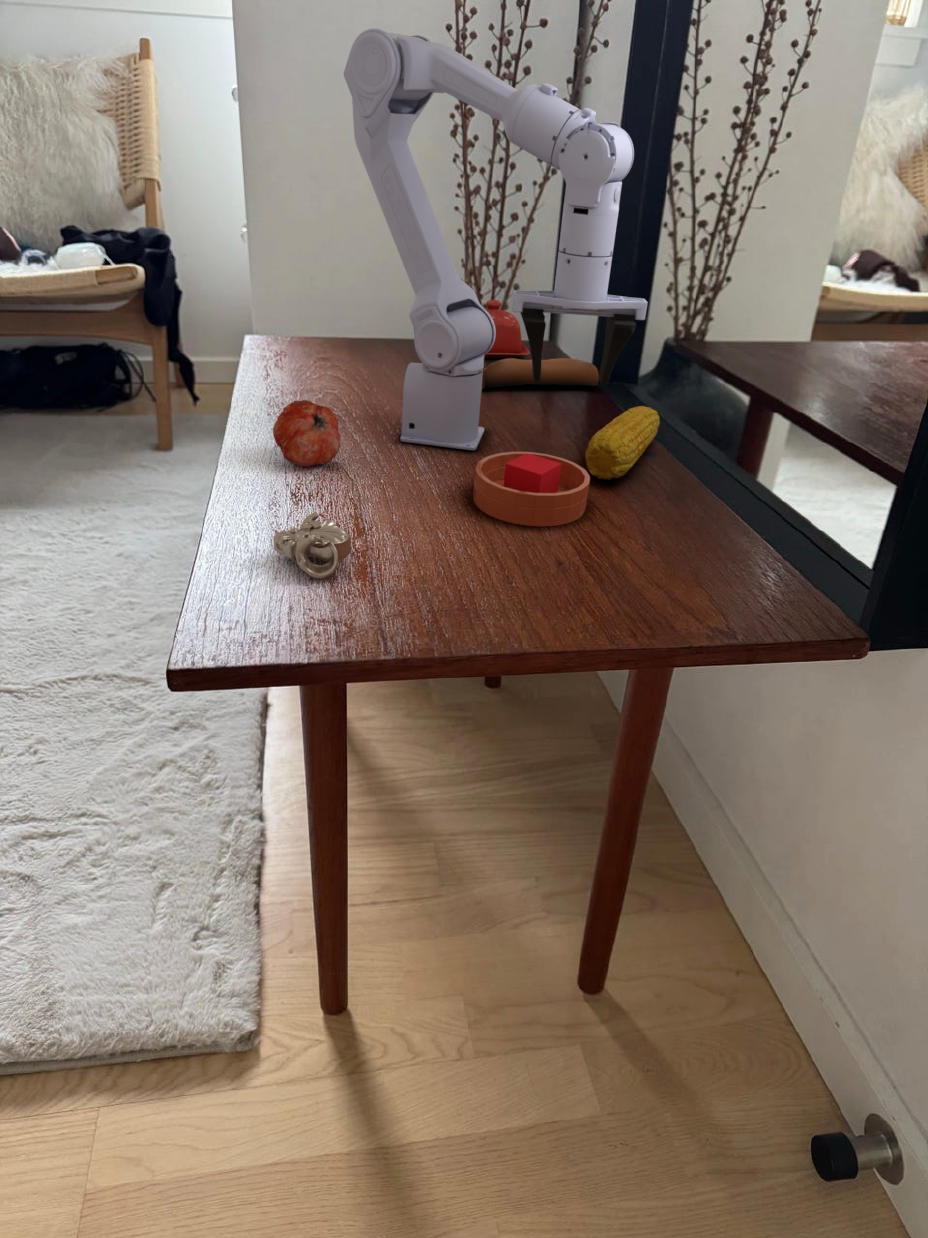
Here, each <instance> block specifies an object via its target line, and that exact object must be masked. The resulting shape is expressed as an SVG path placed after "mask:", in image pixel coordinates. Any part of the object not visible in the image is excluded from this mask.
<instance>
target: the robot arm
mask: <svg viewBox="0 0 928 1238" xmlns="http://www.w3.org/2000/svg"><path fill="white" fill-rule="evenodd" d="M343 77H344V80H345V82H346V85H347V88H348V90H349V93H350V95H351V101H352V103H351V105H352V119H353V120H352V121H353V136H354V141H355V145H356V149H357V151H358V153H359V156H360V159H361V160H362V163H363V167H364V168H365V170H366V174H367V176H368V178H369V181H370V183H371V187H372V188H373V191H374V193H375V196H376V198H377V201H378V204H379V206H380V209H381V211H382V214H383V216H384V219H385V221H386V224H387V227H388V229H389V232H390V234H391V237H392V239H393V242H394V244H395V246H396V249H397V252H398V255H399V257H400V259H401V261H402V265H403V267H404V269H405V272H406V274H407V277H408V280H409V282H410V284H411V288H412V289H413V292H414V300H413V302H412V305H411V309H410V311H409V315H408V316H409V320H410V321H411V324H412V327H413V334H414V335H413V345H414V349H415V352H416V353H415V354H416V355H417V357H418V359H419V360H420V361H421V362H409V363H408V365H407V367H406V371H405V374H404V381H403V388H402V389H403V391H402V410H401V411H402V412H401V413H402V414H401V436H400V438H399V439H400V440H399V441H401V442H403V443H409V444H410V443H411V444H419V445H426V446H434V447H442V448H449V449H456V450H457V449H458V450H464V451H472V452H473V451H476V450H477V449H478V446H479V444H480V442H481V440H482V437H483V435H484V433H485V427H484V426H479V425H480V413H481V412H480V411H481V401H482V390H483V389H482V378H483V369H484V368H485V367H484V365H485V358H484V355H485V354H486V353H488V352H489V351H490V349H491V348H492V346H493V344H494V342H495V337H496V329H495V324H494V321H493V319H492V317H491V315H490V314H489V313H488V312H487V311H486V309H485V307H483V305H482V304H481V303H480V300H479V299H478V296H477V294H476V292H475V290H474V289H473V288H472V287H471V286H469V285H468V284H467V283H466V282H465V281H464V280H462V279H461V278H460V277H459V274H458V271H457V270H456V266H455V264H454V262H453V259H452V256H451V254H450V251H449V248H448V245H447V243H446V241H445V238H444V235H443V233H442V230H441V228H440V224H439V222H438V219H437V217H436V215H435V212H434V209H433V207H432V204H431V201H430V199H429V196H428V193H427V191H426V188H425V186H424V183H423V181H422V180H423V179H422V177H421V175H420V173H419V170H418V166H417V164H416V162H415V159H414V157H413V154H412V152H411V149H410V145H409V143H408V139H409V136H410V133H411V131H412V128H413V126H414V124H415V122H416V121H417V119H418V118H419V116H420V115H421V113H422V112H423V111H424V109H425V108H426V106H427V105H428V104H429V102H430V100H431V99H432V98H433V96H434V95H435V94H447V95H449V96H451V97H453V98H455V99H457V100H459V101H461V102H463V103H465V104H467V105H469V106H470V107H472V108H474V109H476V110H478V111H480V112H482V113H484V114H486V115H488V116H490V117H492V118H494V119H495V120H498V121H500V122H502V125H503V128H504V132H505V136H506V138H507V140H508V142H510V143H511V144H512V145H514V146H516V147H518V148H519V149H521V150H523V151H525V152H527V153H528V154H530V155H532V156H533V157H534V158H536V159H539V160H540V161H542V162H544V163H545V164H547V165H549V166H551V167H552V168H553V169H556V170H558V171H559V172H560V174H561V175H562V177H563V179H564V182H565V191H564V192H565V193H564V202H563V208H562V218H561V226H560V236H559V244H558V252H557V262H556V272H555V278H554V279H555V281H554V288H553V290H516V289H514V290H513V291H512V297H511V298H512V300H511V312H512V313H520V316H521V319H522V322H523V325H524V328H525V332H526V336H527V340H528V344H529V349H530V350H529V351H530V355H531V356H530V357H531V360H532V377H533V380H534V381H540V377H541V360H542V355H543V346H544V340H545V339H544V338H545V332H546V327H547V324H546V320H545V319H546V315H545V314H561V315H576V316H594V317H606V320H605V335H604V343H603V344H604V345H603V351H602V355H601V361H600V367H599V371H598V373H599V383H600V385H602V386H607V385H608V384H609V380H610V378H611V374H612V373H613V369H614V367H615V364H616V362H617V360H618V358H619V356H620V355H621V352H623V351H622V350H623V349H624V347H625V345H626V344H627V343H628V342H629V340H630V338H631V337H632V336H633V334H634V332H635V330H636V327H637V323H636V321H645V320H646V315H647V309H648V303H649V302H648V301H647V300H646V299H645V298H643V297H642V298H641V297H630V296H622V295H613V294H608V289H609V283H610V275H611V268H612V261H613V254H614V247H615V242H616V241H615V240H616V233H617V225H618V218H619V211H620V202H621V193H622V186H623V180H624V179H625V178H626V177H627V175H628V174H629V173H630V171H631V170H632V169H631V168H632V167H633V164H634V159H635V148H634V143H633V140H632V138H631V136H630V134H629V133H628V132H627V131H626V130H625V129H623V128H622V127H621V126H620V125H619V123H618V122H615V121H605V122H601V123H597V120H596V117H597V112H596V111H595V110H593V109H591V108H590V107H585V108H584V109H580V108H579V107H577V106H575V105H573V104H571V103H569V102H568V101H566V100H564V99H562V98H561V97H559V96H558V95H557V94H558V92H559V88H557V87H556V86H554V85H552V84H550V83H546V82H545V83H544V82H543V83H542V84H541V86H540V85H538V84H534V83H533V84H528V85H526V86H524V87H523V88H521V89H516V88H515V87H513V86H512V85H510V84H508V83H507V82H506V81H504V80H502V79H501V78H499V77H498V76H496V75H494V74H493V73H491V72H490V71H488V70H487V69H485V68H483V67H482V66H480V65H479V64H477V63H475V62H474V61H472V60H471V59H469V58H467V57H466V56H464V55H463V54H461V53H460V52H458V51H456V50H455V49H453V48H450V47H449V46H448V45H445V44H442V43H439V42H434V41H431V40H430V39H428V38H427V37H425V36H422V35H406V34H400V33H394V32H387V31H385V30H382V29H379V28H368V29H366V30H363V31H362V32H361V33H360V34H358V36H356V38H355V39H354V41H353V43H352V46H351V48H350V51H349V54H348V57H347V60H346V64H345V67H344V70H343ZM544 313H545V314H544ZM635 320H636V321H635Z"/></svg>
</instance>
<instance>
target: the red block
mask: <svg viewBox="0 0 928 1238" xmlns="http://www.w3.org/2000/svg"><path fill="white" fill-rule="evenodd" d="M560 471H561V463H558V462H555V461H551V460H548V459H545V458H541V457H538V456H535V455H531V454H528V453H526V454H524V455H522V456H520V457H518V458H516V459H514V460H512V461H510V462H508V463H506V465H505V475H504V485H503V487H507V488H511V489H514V490H518V491H524V492H532V493H558V486H559V479H560Z"/></svg>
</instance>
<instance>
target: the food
mask: <svg viewBox="0 0 928 1238" xmlns="http://www.w3.org/2000/svg"><path fill="white" fill-rule="evenodd" d="M660 420H661V418H660V415H659V413H658V411H657V410H655V409H653V408H652V407H648V406H645V405H639V406H635V407H631V408H628V409H627V410H626V411H624V412H622V413H621V414H619V415H618V416H616V417H614V418H613V419H612V420H611V421H610V422H609V423H607V424H605V426H604V427H602V428H601V429H600V430H598V431H596V433H595V434H594V435H592V437H591V438H590V440H589V442H588V446H587V448H586V449H585V456H584V457H585V463H586V468H587V470H588V471H589V473H590V475H592V476H593V477H596V478H597V479H600V480H608V481H611V479H619V478H621V477H623V476H624V475H626V473H628V471H629V470H630V469H632V468H633V466H634V465H635V464H636V463H637V461H638V460H639V458H640V457H641V456H642V455H643V454H644V452H645V451H646V449H647V448H648V446H649V445H650V444H651V443H652V442H653V440H654V439H655V437H656V436H657V433H658V431H659V427H660V423H661V421H660Z"/></svg>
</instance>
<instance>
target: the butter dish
mask: <svg viewBox="0 0 928 1238" xmlns="http://www.w3.org/2000/svg"><path fill="white" fill-rule="evenodd" d="M485 305H486V309H485V310H486V311H487V312H488V313H489V314H490V315H491V317H492V319H493V321H494V324H495V329H496V337H495V342H494V344H493V346H492V348H491V349H490V351H489V352H488V353H486V354H485V355H484V359H508V358H514V359H516V358H517V357H527V356H529V355H531V351H530V350H529V349H528V348H527V347H526V345H525V344H524V343H523V341H522V333H521V332H522V330H521V325H520V322H519V320H518V319H517V317H516V316H515V315H514V314H512V313H510V312H509V311H506V310H502V309H500V308H501V307H502V302H501V301H500V300H497V299H490V300H487V301H486V302H485Z"/></svg>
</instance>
